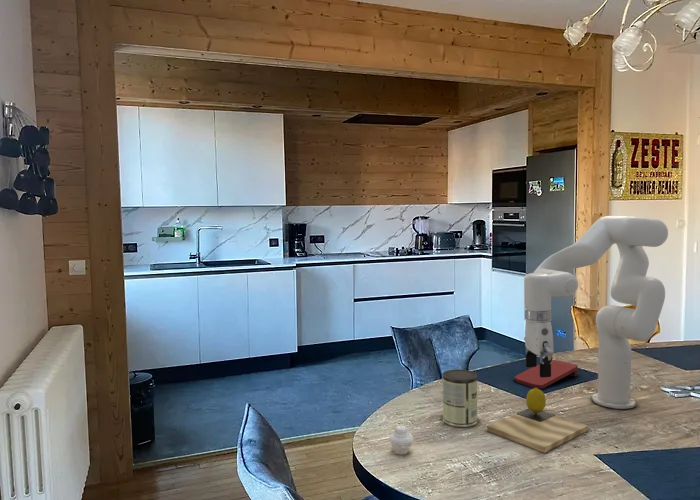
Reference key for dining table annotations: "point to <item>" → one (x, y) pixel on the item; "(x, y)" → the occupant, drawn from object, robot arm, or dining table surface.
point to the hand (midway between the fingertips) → (538, 371)
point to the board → (537, 429)
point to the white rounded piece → (401, 440)
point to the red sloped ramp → (557, 373)
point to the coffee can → (460, 398)
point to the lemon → (535, 400)
